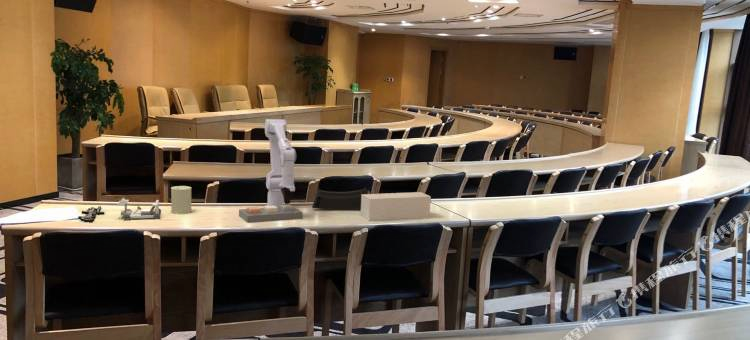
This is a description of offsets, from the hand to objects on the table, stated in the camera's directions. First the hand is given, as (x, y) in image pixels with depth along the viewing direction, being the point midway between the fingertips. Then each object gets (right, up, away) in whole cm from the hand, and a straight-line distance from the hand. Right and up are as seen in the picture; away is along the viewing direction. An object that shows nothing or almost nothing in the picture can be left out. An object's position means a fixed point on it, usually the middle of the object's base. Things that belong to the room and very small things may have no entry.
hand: (287, 203), depth 284 cm
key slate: (0, -4, +1) cm, 4 cm away
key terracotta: (-14, -5, -7) cm, 17 cm away
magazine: (+25, -5, +19) cm, 32 cm away
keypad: (-7, -6, -3) cm, 10 cm away
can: (-50, -4, 0) cm, 50 cm away
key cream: (-7, -4, -3) cm, 9 cm away
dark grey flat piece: (-85, -5, -14) cm, 87 cm away
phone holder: (-64, -6, -13) cm, 66 cm away
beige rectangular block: (+51, -7, +9) cm, 52 cm away
